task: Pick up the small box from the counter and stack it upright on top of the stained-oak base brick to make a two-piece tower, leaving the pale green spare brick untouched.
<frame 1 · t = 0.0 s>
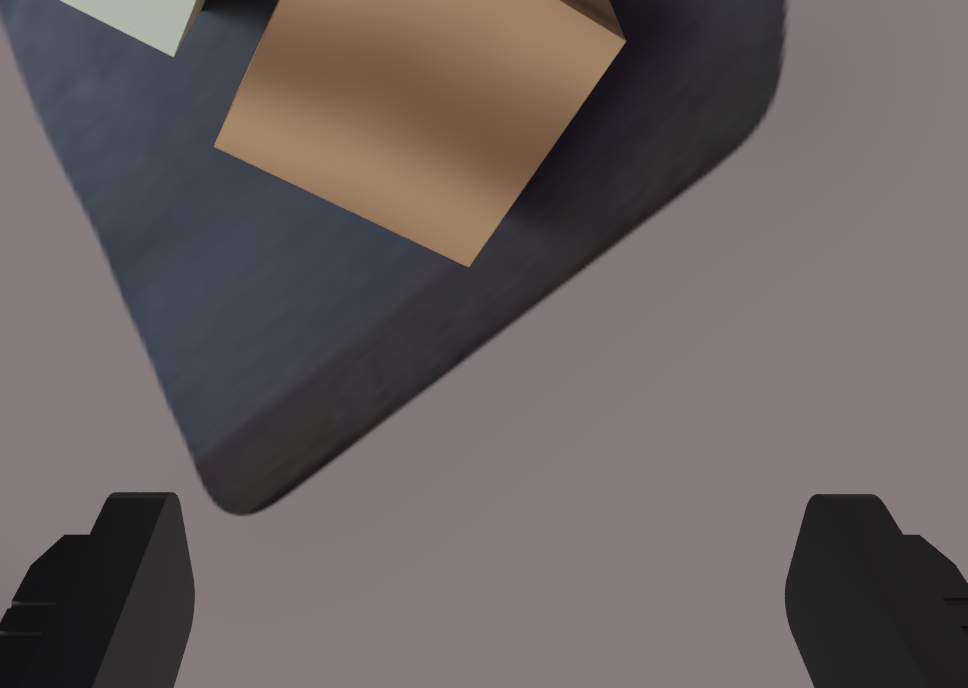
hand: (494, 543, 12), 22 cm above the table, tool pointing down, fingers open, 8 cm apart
base brick: (417, 44, 30), on the table
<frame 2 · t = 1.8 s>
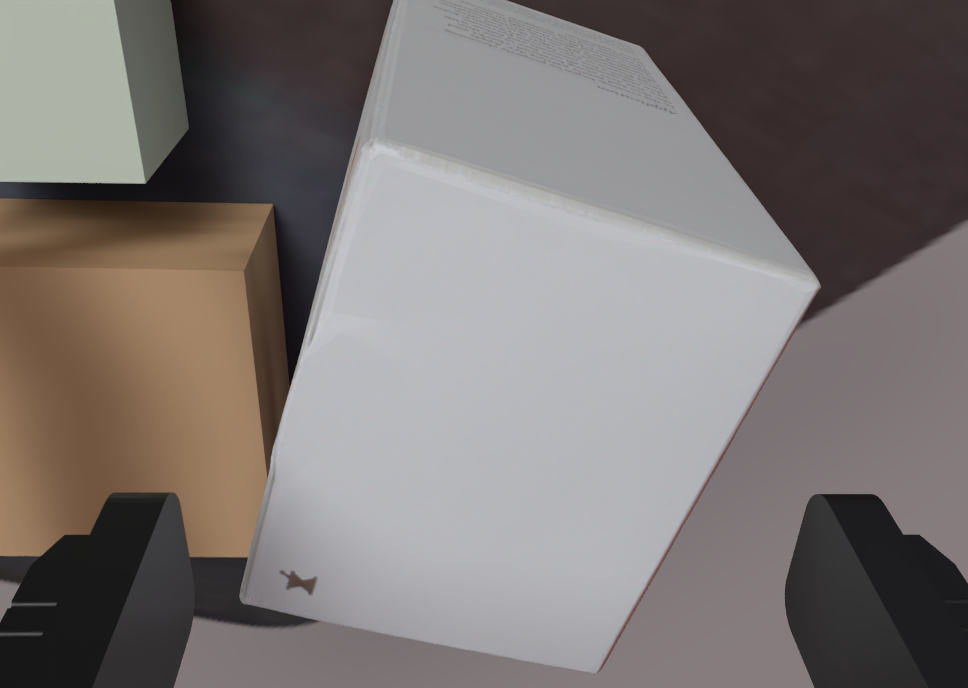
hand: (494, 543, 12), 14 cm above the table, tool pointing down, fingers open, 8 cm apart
small box: (479, 151, 24), on the table
base brick: (130, 344, 27), on the table
spare brick: (72, 24, 22), on the table
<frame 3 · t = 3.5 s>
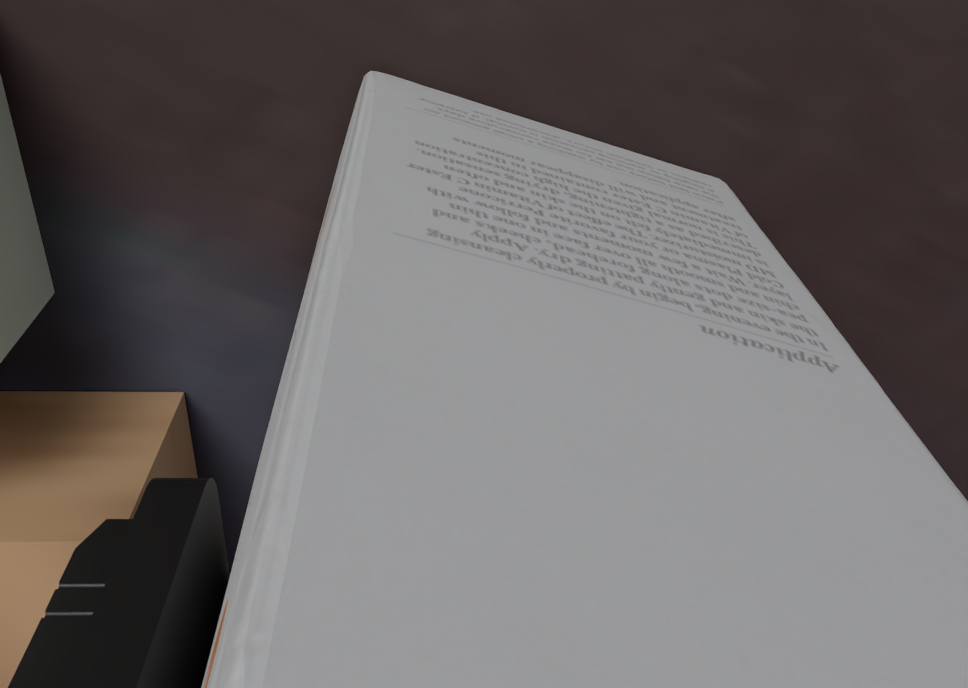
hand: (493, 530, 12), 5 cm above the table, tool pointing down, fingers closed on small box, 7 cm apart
small box: (481, 320, 17), on the table, touching gripper
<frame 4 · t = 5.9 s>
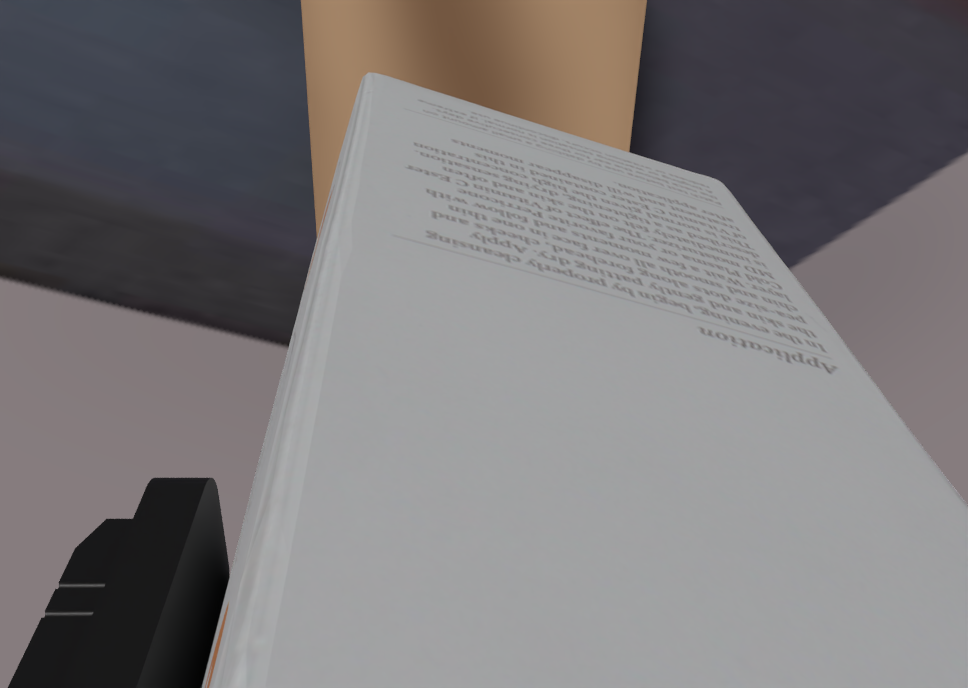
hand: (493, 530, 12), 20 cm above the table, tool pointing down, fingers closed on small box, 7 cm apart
small box: (479, 321, 17), point 15 cm above the table, touching gripper
base brick: (469, 95, 29), on the table
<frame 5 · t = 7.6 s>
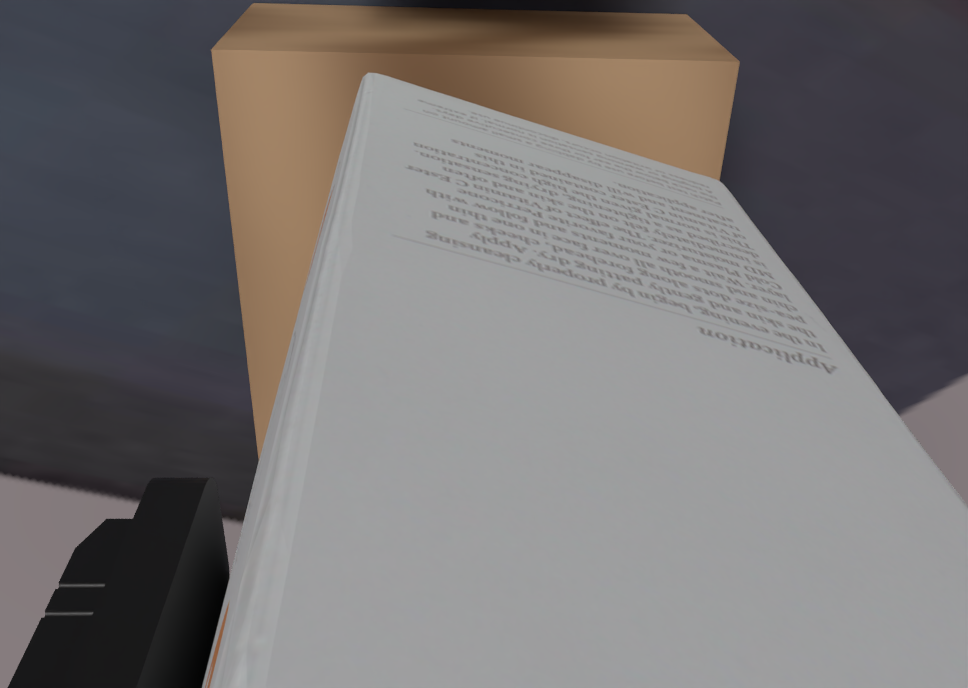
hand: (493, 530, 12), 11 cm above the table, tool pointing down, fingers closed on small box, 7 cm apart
small box: (479, 321, 17), point 5 cm above the table, touching gripper
base brick: (467, 211, 21), on the table
when the fingers open (11 cm above the table, at t = 8.6 s): small box drops 1 cm, resting on base brick.
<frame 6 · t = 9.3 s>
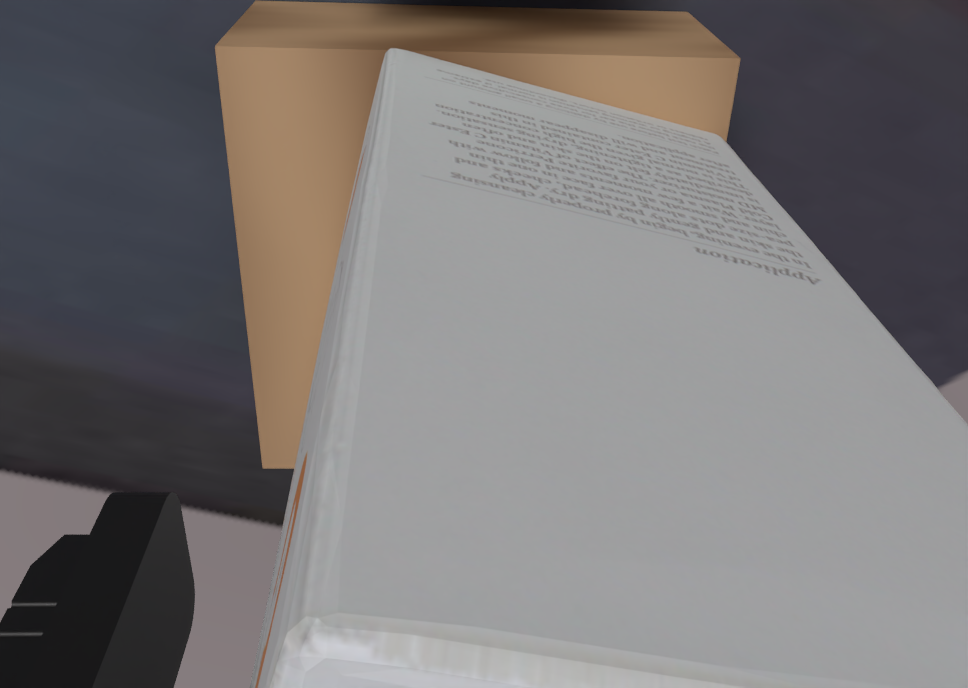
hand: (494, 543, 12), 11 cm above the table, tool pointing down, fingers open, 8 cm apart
small box: (501, 278, 18), point 4 cm above the table, touching base brick, gripper
base brick: (469, 208, 22), on the table
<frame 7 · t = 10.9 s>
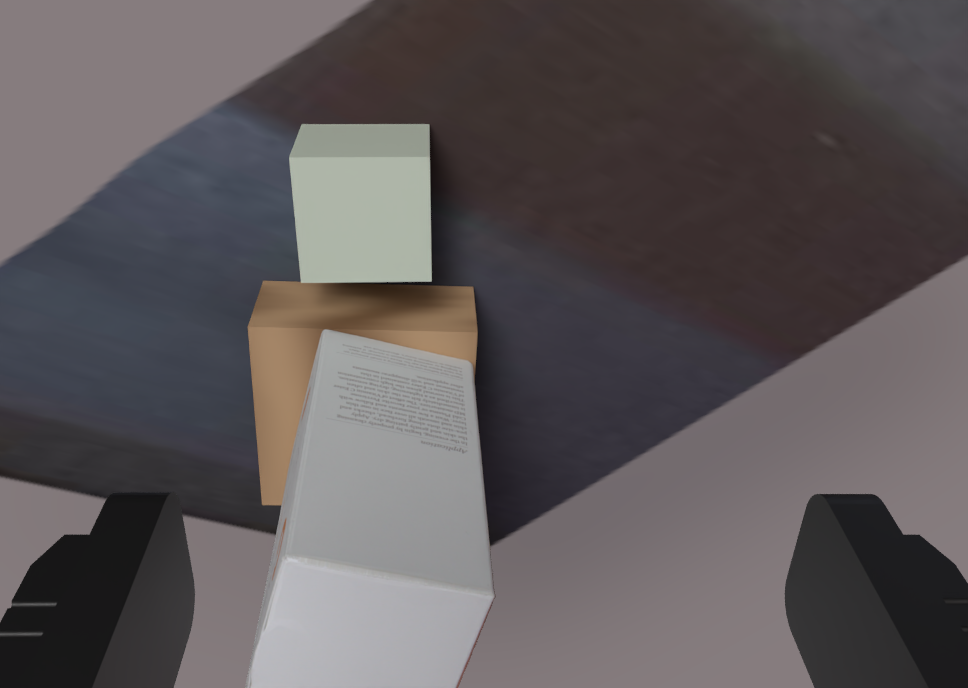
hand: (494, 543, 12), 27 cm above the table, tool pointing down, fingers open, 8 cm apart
small box: (378, 418, 39), point 4 cm above the table, touching base brick
base brick: (369, 371, 42), on the table
spare brick: (369, 183, 38), on the table
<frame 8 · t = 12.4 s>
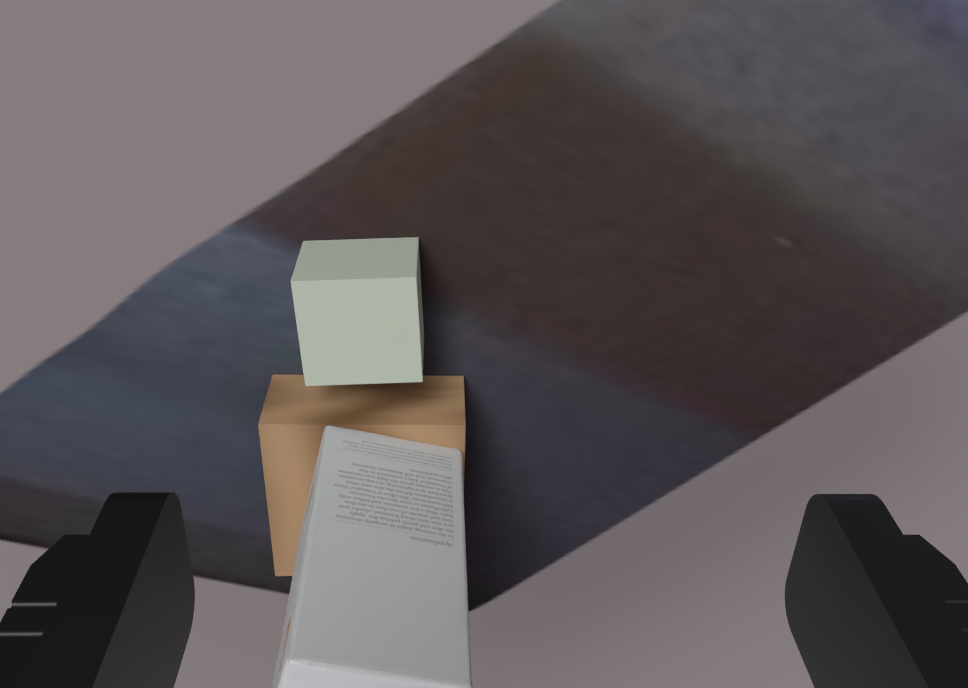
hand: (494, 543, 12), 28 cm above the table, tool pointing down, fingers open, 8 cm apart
small box: (378, 499, 43), point 4 cm above the table, touching base brick
base brick: (371, 451, 46), on the table
spare brick: (365, 288, 42), on the table
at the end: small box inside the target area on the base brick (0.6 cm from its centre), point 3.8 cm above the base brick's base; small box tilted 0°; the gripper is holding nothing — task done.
